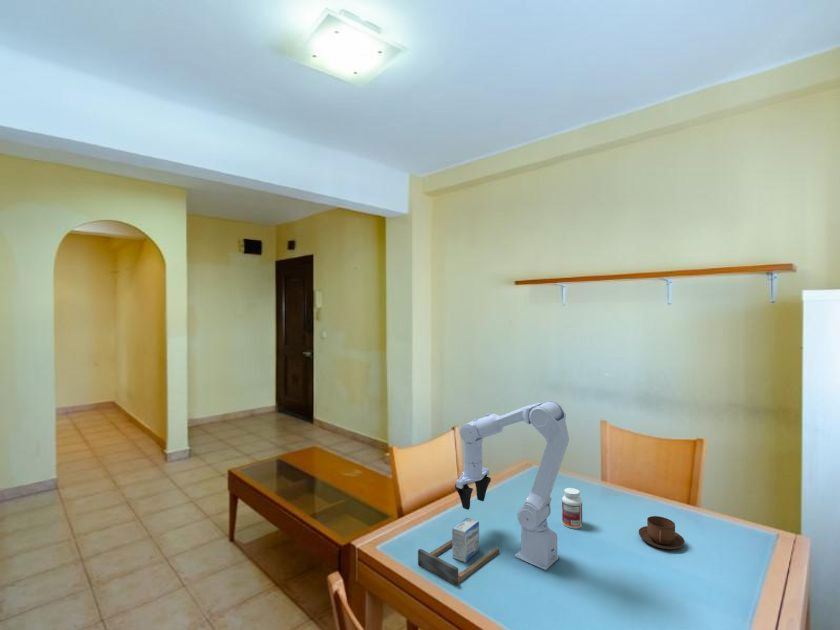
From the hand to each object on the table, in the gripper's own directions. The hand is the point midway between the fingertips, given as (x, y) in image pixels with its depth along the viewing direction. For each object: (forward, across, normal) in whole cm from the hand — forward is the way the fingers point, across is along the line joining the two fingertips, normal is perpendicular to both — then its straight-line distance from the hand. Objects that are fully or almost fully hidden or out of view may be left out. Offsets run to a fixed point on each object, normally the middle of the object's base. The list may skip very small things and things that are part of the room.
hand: (473, 504), depth 134 cm
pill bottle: (+10, -27, +20) cm, 35 cm away
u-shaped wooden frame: (+10, +13, +5) cm, 17 cm away
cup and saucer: (+10, -35, +43) cm, 57 cm away
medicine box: (+10, +10, +5) cm, 15 cm away
